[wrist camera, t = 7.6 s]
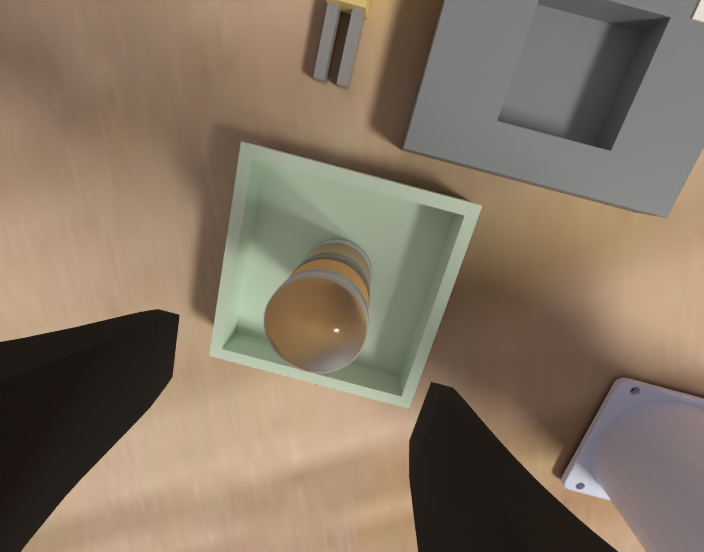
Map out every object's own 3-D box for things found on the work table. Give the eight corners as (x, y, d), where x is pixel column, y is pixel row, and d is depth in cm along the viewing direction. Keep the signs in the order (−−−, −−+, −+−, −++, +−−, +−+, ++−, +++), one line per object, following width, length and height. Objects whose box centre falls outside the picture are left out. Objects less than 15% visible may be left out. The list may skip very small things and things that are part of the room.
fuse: (382, 252, 19) (383, 298, 12) (358, 313, 20) (347, 386, 13) (315, 228, 19) (279, 261, 12) (295, 291, 20) (251, 353, 13)
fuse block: (739, 3, 15) (792, -22, 13) (636, 212, 18) (667, 218, 16) (462, -71, 15) (475, -106, 13) (401, 150, 18) (403, 148, 16)
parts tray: (469, 200, 18) (482, 205, 16) (406, 382, 22) (409, 408, 19) (259, 144, 18) (240, 141, 16) (228, 334, 22) (209, 355, 19)
